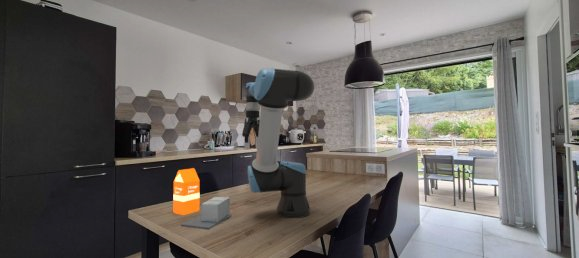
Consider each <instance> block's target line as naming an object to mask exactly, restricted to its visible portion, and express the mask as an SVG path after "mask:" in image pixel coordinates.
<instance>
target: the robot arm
mask: <svg viewBox="0 0 579 258" xmlns="http://www.w3.org/2000/svg"><path fill="white" fill-rule="evenodd" d="M314 91H315V82H314V80H313V79H312V77H311V76H310V75H309V74H308V73H306V72H303V71H300V70H292V69H280V68H273V67H272V68H261V69H260V70H259V71H258V73H257V75H256V78H255V81H254V82H247V83H246V85H245V110H246V111H245V119H244V123H243V124H244V125H243V128H242V133H241V135H242V137H243V138H244V150H250V148H251V147H250V146H251V144H250V141H251V140H250V139H251V137H250V134H251V132H252V129H253V131H254V134H255V135H256V136H255V149H256V154H255V156H256V158H254V159H253V160H252V162H251V165H248V166H247V180H248V186H249V189H250V191H251V193H253V194H254V193H260V194H261V193H269V192H280V197H279V201H278V204H277V207H276V214H277V215H278V216H281V217H283V218H289V219H290V218H291V219H292V218H293V219H295V218H297V219H298V218H303V217H307V216H308V215H310V214H311V207H310V204H309V201H308V198H307V180H306V179H307V172H306V171H307V170H306V165H305V164H304V163H301V162H294V161H284V160H283V161H280V163H279V161H277V157H278V150H279V149H278V148H279V141H280V134H281V133H280V132H281V127H282V126H281V125H282V120H283V118H282V117H283V112H284V110H285V109H287V108H288V103H289V102H302V101H305V100H307V99H309V98H310V97H311V96H312V95H313V94H314ZM258 118H259V119H258Z"/></svg>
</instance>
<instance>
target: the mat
mask: <svg viewBox="0 0 579 258" xmlns="http://www.w3.org/2000/svg"><path fill="white" fill-rule="evenodd" d="M230 218H232V215H231V214H228V215H227V216H225V217H224V218H223V219H221V220H220V221H219V222H203V221H201V214H200V215H199V216H198V215H197V216H196V217H194V218H192V219H189V220H187V221H185V222H183V223H181V224H180V227H187V228H195V229H197V228H198V229H203V230H204V229H205V230H210V229H212V228H214V227H216V226H217V225H219V224H220V223H223V222H225V221H226V220H228V219H230Z"/></svg>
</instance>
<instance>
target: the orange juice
mask: <svg viewBox="0 0 579 258" xmlns="http://www.w3.org/2000/svg"><path fill="white" fill-rule="evenodd" d="M200 181H201V180H200V178H199V176H198V173H197V171H196V169H195V168H194V167H191V168H185V169H178V171H177V172H176V176H175V178H174V180H173V195H172V196H173V197H172V198H173V199H172V200H173V205H172V207H173V208H172V211H173V212H172V213H174V214H177V215H180V216H186V215H189V214H193V213H195V212H199V211H200V198H201V197H200V195H201V194H200V193H201V192H200Z"/></svg>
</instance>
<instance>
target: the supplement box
mask: <svg viewBox="0 0 579 258" xmlns="http://www.w3.org/2000/svg"><path fill="white" fill-rule="evenodd" d="M230 209H231V197H229V196H225V197H224V196H213V197H212V198H210V199H208V200H206V201H205V202H203V203H201V214H200V215H201V221H203V222H219V221H220V220H221V219H223V218H224V217H225V216H227V215H230V213H231V212H230V211H231V210H230Z"/></svg>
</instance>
